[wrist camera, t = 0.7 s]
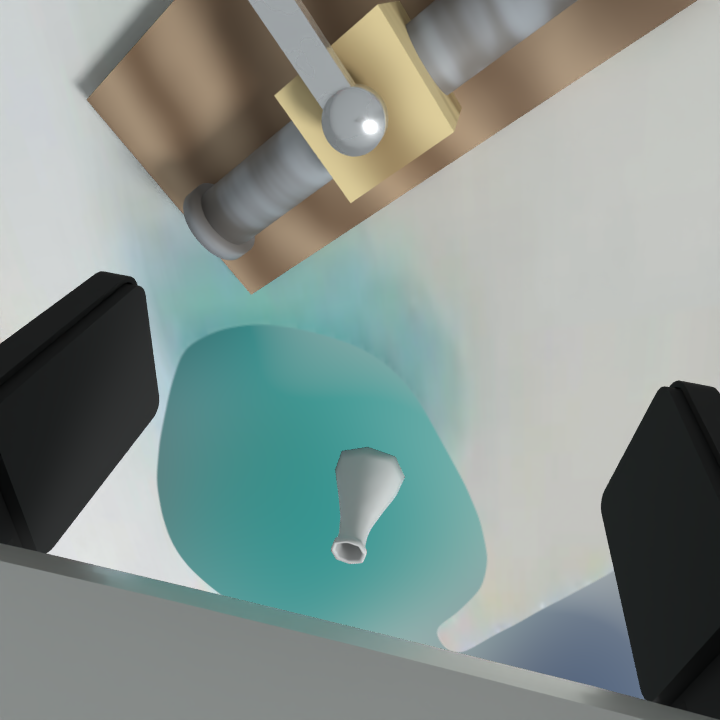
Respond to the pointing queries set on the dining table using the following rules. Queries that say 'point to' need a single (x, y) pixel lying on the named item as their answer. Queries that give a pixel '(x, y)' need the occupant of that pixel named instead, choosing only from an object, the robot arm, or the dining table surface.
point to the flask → (363, 497)
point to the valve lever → (326, 78)
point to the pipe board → (238, 112)
